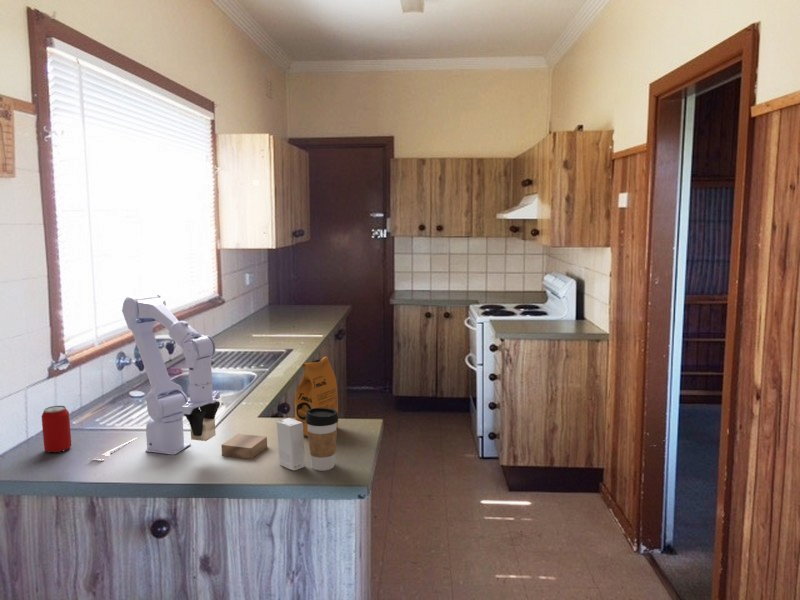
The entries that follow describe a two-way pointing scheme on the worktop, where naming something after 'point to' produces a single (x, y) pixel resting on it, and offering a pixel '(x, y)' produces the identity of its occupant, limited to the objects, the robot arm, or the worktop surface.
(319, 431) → the coffee cup
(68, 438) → the beverage can
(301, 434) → the skincare box
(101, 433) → the worktop surface
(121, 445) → the fork
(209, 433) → the birch block
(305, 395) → the coffee package
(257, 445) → the walnut base
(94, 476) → the worktop surface
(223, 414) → the worktop surface
